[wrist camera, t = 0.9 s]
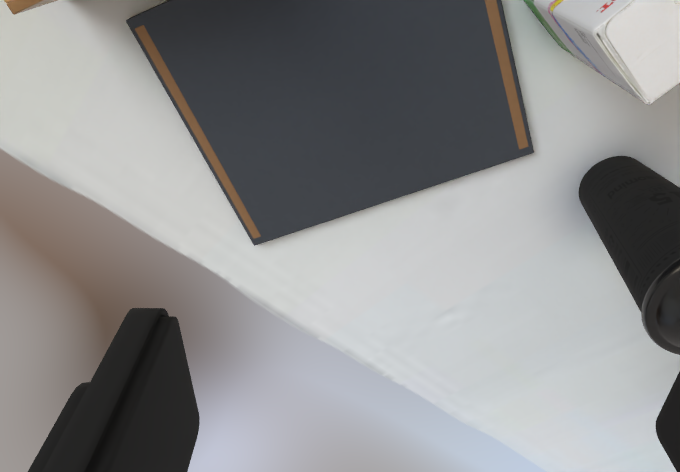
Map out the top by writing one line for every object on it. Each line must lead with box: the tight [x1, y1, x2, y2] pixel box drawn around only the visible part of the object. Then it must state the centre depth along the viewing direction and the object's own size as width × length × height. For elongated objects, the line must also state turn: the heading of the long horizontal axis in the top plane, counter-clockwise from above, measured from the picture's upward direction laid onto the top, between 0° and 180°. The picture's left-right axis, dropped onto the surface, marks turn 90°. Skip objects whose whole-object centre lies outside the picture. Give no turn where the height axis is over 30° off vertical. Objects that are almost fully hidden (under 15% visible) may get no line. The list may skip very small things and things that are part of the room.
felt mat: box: [126, 0, 534, 245], centre depth 35 cm, size 18×22×1 cm
